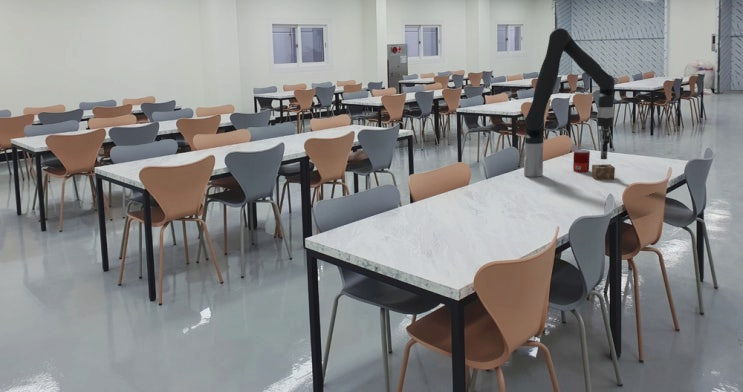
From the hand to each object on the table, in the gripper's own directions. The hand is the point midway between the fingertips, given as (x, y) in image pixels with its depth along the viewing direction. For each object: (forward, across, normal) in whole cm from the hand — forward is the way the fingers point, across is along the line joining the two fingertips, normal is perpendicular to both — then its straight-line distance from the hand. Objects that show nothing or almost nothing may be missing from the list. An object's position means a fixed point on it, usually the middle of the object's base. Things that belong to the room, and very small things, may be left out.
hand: (604, 150), depth 323 cm
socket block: (+14, 0, 0) cm, 14 cm away
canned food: (+14, -18, -7) cm, 24 cm away
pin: (+4, 0, 0) cm, 4 cm away
